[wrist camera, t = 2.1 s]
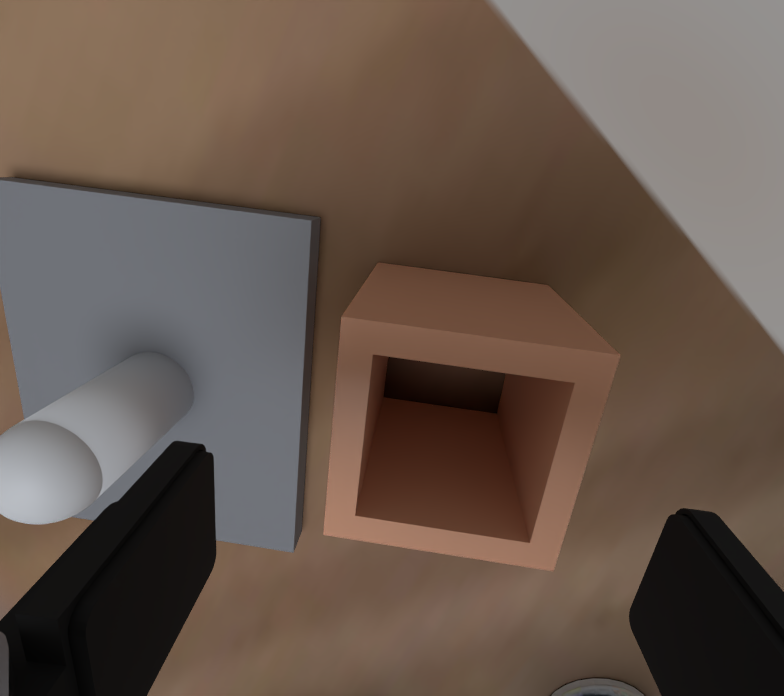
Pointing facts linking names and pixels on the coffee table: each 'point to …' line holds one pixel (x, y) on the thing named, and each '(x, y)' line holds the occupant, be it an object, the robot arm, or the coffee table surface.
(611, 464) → the coffee table surface
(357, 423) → the sleeve
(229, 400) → the peg on grey base
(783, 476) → the coffee table surface
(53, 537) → the coffee table surface
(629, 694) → the spray can
